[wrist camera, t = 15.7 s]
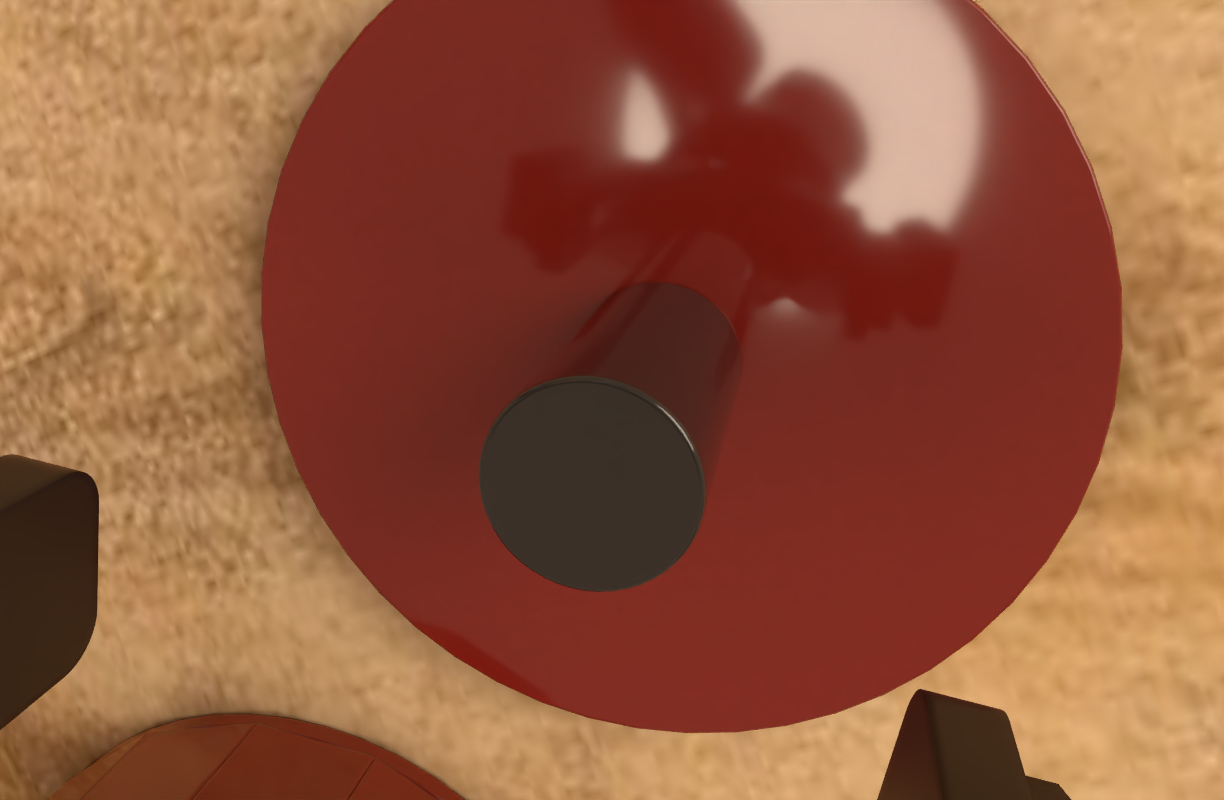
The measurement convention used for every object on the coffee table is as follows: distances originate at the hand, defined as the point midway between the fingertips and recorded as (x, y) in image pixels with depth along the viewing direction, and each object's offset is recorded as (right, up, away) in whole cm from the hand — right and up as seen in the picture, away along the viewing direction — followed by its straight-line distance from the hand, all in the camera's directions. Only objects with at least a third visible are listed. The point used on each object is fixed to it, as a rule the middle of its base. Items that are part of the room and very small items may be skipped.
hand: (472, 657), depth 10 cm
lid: (+2, +3, +10) cm, 11 cm away
